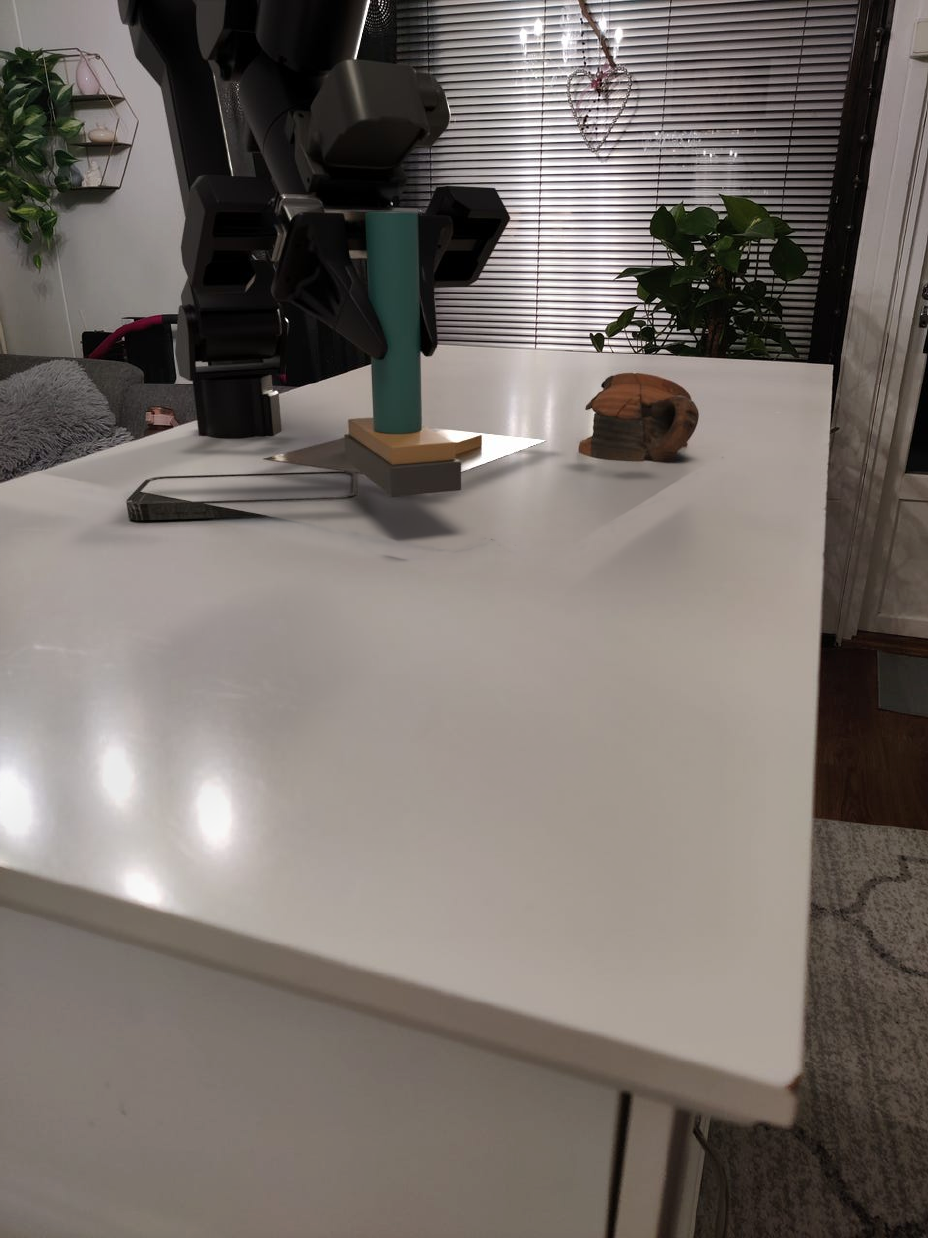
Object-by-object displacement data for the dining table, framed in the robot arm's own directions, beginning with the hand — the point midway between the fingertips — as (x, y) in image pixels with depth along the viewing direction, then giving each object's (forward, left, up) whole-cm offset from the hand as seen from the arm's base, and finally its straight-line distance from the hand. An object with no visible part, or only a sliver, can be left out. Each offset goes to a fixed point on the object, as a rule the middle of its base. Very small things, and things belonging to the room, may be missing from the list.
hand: (407, 352), depth 48 cm
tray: (-4, +22, -11) cm, 25 cm away
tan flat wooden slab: (-1, +23, -10) cm, 25 cm away
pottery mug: (+15, +23, -11) cm, 30 cm away
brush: (-1, +1, -7) cm, 7 cm away
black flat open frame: (-13, +8, -11) cm, 19 cm away
